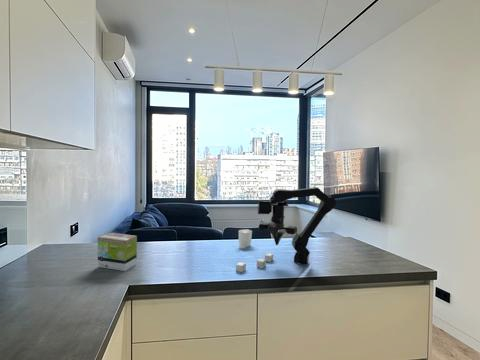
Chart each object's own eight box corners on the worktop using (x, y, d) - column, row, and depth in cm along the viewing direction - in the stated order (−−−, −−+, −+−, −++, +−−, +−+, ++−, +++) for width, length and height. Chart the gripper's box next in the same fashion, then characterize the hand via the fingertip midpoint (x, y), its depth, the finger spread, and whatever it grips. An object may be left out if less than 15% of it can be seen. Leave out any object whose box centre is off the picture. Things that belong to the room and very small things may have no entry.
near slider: (245, 269, 149) (245, 263, 149) (241, 272, 146) (242, 265, 145) (239, 268, 150) (240, 262, 150) (235, 270, 147) (236, 264, 147)
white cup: (253, 248, 187) (254, 232, 186) (241, 249, 184) (241, 233, 183) (248, 245, 194) (248, 229, 194) (236, 246, 192) (236, 229, 191)
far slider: (272, 259, 164) (273, 254, 164) (270, 261, 161) (270, 256, 160) (267, 258, 166) (267, 253, 165) (264, 260, 162) (264, 255, 162)
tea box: (96, 267, 149) (96, 237, 148) (110, 261, 159) (110, 232, 157) (125, 271, 145) (125, 240, 144) (137, 264, 155) (137, 234, 154)
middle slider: (265, 265, 155) (265, 259, 155) (262, 267, 152) (262, 261, 152) (259, 264, 157) (260, 258, 156) (256, 266, 153) (256, 260, 153)
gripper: (254, 215, 156) (253, 246, 158) (291, 219, 148) (289, 252, 149) (263, 211, 166) (262, 240, 167) (298, 215, 158) (296, 246, 159)
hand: (277, 244), depth 161 cm, fingers closed
